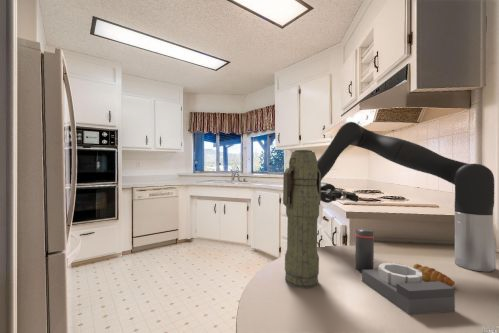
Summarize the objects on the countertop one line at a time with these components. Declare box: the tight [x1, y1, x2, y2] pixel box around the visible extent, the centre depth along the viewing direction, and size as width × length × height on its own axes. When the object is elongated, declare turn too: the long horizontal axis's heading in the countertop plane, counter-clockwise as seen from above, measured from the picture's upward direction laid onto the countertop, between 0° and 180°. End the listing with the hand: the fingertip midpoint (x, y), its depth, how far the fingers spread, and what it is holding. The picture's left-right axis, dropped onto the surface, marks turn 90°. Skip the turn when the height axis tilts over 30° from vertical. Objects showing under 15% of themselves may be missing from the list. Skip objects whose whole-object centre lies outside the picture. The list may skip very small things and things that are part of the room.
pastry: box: [411, 263, 455, 288], centre depth 67 cm, size 9×7×4 cm
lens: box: [354, 228, 375, 274], centre depth 74 cm, size 5×5×12 cm
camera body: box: [361, 262, 456, 315], centre depth 59 cm, size 11×16×6 cm
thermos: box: [282, 149, 322, 289], centre depth 66 cm, size 9×12×35 cm
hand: (346, 198), depth 84 cm, fingers open, 8 cm apart
